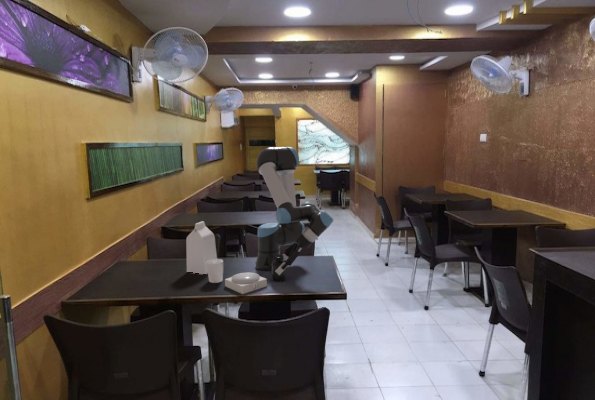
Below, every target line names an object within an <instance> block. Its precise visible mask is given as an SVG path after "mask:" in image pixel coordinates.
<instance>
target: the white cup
mask: <svg viewBox="0 0 595 400" xmlns="http://www.w3.org/2000/svg"><path fill="white" fill-rule="evenodd" d="M207 269H208V273H207V276H208V282H209V283H212V284H217V283H222V282H223V281H224V276H223V275H224V259H222V258H217V259H211V260H208V261H207Z"/></svg>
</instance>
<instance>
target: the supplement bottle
mask: <svg viewBox="0 0 595 400" xmlns="http://www.w3.org/2000/svg"><path fill="white" fill-rule="evenodd" d="M273 260H274V261H273V262H272V270H271V280H272V281H273V282H276V283H280V282H284V281H286V279H287V272H286V271H287V268H286V269H285V270H284V271H283V272H282V273H281V274H280V275H279V274H277V273H276V272H275V271H276V270H277V269H278V268H279V267H280V266H281V265H282V263H283V262H284V261H283V260H284V258H283V254H281V255H275V256H274V259H273Z"/></svg>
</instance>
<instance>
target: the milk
mask: <svg viewBox="0 0 595 400" xmlns="http://www.w3.org/2000/svg"><path fill="white" fill-rule="evenodd" d="M205 222H206V221H203V220H202V221H199V222H196V223H195V224H194V229H192V231H191V232H190V233H189V234H188V235H187V236H186V244H185V245H186V249H185V250H186V273H187V272H193V273H192V274H195V273H199V274H198V275H203V274H206V275H208V269H207V261H208V260H211V259H218V256H217V255H218V254H217V248H216V247H217V246H216V237H215V234H214V233H213V231H211V230H210V229H209V228H208V226H206V223H205Z"/></svg>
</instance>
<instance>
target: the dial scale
mask: <svg viewBox="0 0 595 400" xmlns="http://www.w3.org/2000/svg"><path fill="white" fill-rule="evenodd" d="M267 280H268V279H267V278H265V277H263V276H260V275H259V273H256V272H248V271H247V272H240V273H236V274H234V275H232V276H230V277H228V278H225V279H224V285H225V287H226V288H228V289H230V290H233V291H234V292H236V293H239V294H242V295H244V294H247V293H250V292H254V291H256V290H259V289H262V288H266V287H267V286H268V282H267Z"/></svg>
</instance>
